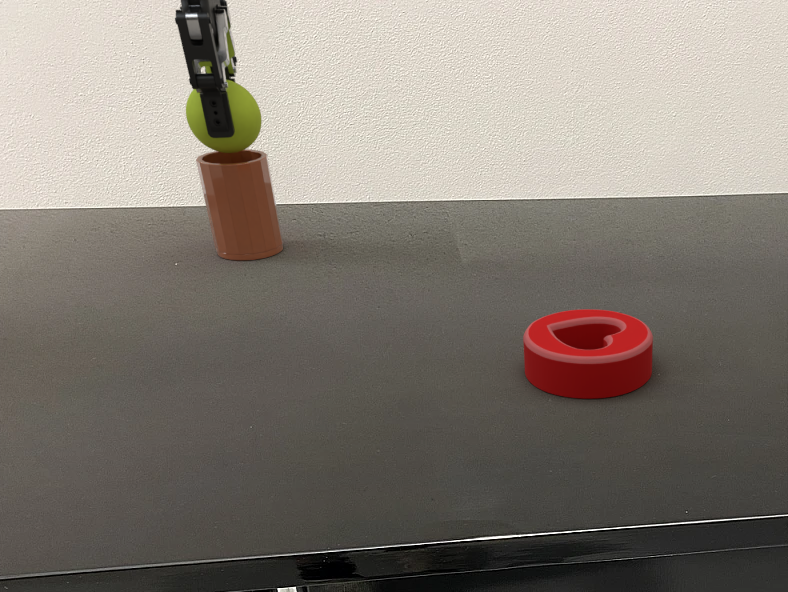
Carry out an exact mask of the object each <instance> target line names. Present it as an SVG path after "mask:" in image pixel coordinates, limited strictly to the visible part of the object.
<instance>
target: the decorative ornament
mask: <svg viewBox="0 0 788 592" xmlns="http://www.w3.org/2000/svg"><path fill="white" fill-rule="evenodd" d="M522 340H523V341H522V342H523V361H524V375H525V377H526V379H527V380H528V382H529V383H530V384H531V385H532V386H534V387H535V388H537V389H539V390H541V391H542V392H545V393H548V394H550V395H555V396H560V397H564V398H570V399H571V398H572V399H583V400H584V399H587V400H588V399H606V398H613V397H618V396H623V395H625V394H628V393H632V392H634V391H636V390H638V389H640V388H642V387H643V386H644V385H645V384H646V383H647V382H648V381H649V380H650V379H651V377H652V375H653V352H654V351H653V348H654V346H653V345H654V336H653V332H652V330H650V328H649V326H648V325H647V324H646V323H645V322H643V321H642V320H640V319H638V317H634V316H632V315H629V314H626V313H623V312H619V311H613V310H608V309H591V308H590V309H587V308H586V309H584V308H583V309H571V310H569V309H568V310H564V311H563V310H562V311H558V312H554V313H550V314H547V315H545V316H542V317H540V318H538V319H536V320H534V321H533V322H531V323H530V324H529V325H528V327H527V328H526V329H525V331H524V334H523V337H522Z"/></svg>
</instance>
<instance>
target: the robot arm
mask: <svg viewBox="0 0 788 592" xmlns="http://www.w3.org/2000/svg"><path fill="white" fill-rule="evenodd" d="M231 17H232V16H231V11H230V8H229V6H228V2H227V0H180V6H179V9H175V17H174V22H175V24H176V25H177V30H178V33H179V38H180V43H181V47H182V51H183V56H184V60H185V65H186V68H187V73H188V76H189V78H188V82H189V85H190V86H191V88H192V90H194V89H196V91H197V93H200V99H201V103H202V108H203V113H204V118H205V122H206V127H207V132H208V135H209V136H210V137H212V138H229V137H232V136H233V135H234V132H235V129H234V124H233V119H232V114H231V109H230V104H229V99H228V94H227V88H228V83H227V82H226V80H230V81H233V82H236V77H237V73H238V71H237V63H238V58H237V56H236V45H235V44H236V43H235V40H234V37H233V32H232V18H231ZM203 68H204V73H202V69H203Z"/></svg>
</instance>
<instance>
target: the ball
mask: <svg viewBox="0 0 788 592" xmlns="http://www.w3.org/2000/svg"><path fill="white" fill-rule="evenodd" d="M226 82H227V83H228V88H227V94H228V99H229V104H230V109H231V114H232V119H233V124H234V129H235V132H234V135H233V136H232V137H229V138H212V137H210V136H209V135H208V132H207V127H206V122H205V118H204V113H203V108H202V103H201V99H200V93H197V91H196V89H192V91H191V92H190V93H189V96H188V97H187V100H186V104H185V116H186V121H187V125H188V128H189V129H190V131H191V133H192V134H193V135H194V137H195V138H196V139H197V141H199V142H200V143H201V144H203V145H204V146H206V147H207V148H209V149H211V150H213V151H218V152H223V153H235V152H239V151H242V150H244V149H248V148H249V147H250V146H252V145H253V144H254V143H255V142H256V140H257V139H258V137H259V135H260V132H261V129H262V113H261V109H260V106H259V104H258V102H257V100H256V98H254V95H252V93H250V91H249V90H248V89H247V88H246V87H244V86H243V85H241V84H239V83H237V82H236V81H235V82H233V81H230V80H226Z"/></svg>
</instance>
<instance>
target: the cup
mask: <svg viewBox="0 0 788 592" xmlns="http://www.w3.org/2000/svg"><path fill="white" fill-rule="evenodd" d="M195 161H196V162H195V163H196V167H197V171H198V176H199V181H200V184H201V189H202V194H203V198H204V204H205V207H206V208H205V209H206V212H207V216H208V223H209V226H210V231H211V236H212V240H213V245H214V248H215V251H216V255H217V256H218V257H219V258H221V259H225V260H230V261H254V260H262V259H265V258H269V257H273V256H276V255H278V254H279V253H281V252H282V251H283V250H284V242H283V234H282V229H281V224H280V217H279V212H278V207H277V200H276V196H275V190H274V185H273V179H272V173H271V168H270V163H269V157H268V153H266V152H264V151H263V150H259V149H258V150H257V149H248V148H246V149H244V150H242V151H239V152H235V153H223V152H218V151H215V150H213V151H210V152H206V153H203V154H201V155H198V156H197V157H196V159H195Z"/></svg>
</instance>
